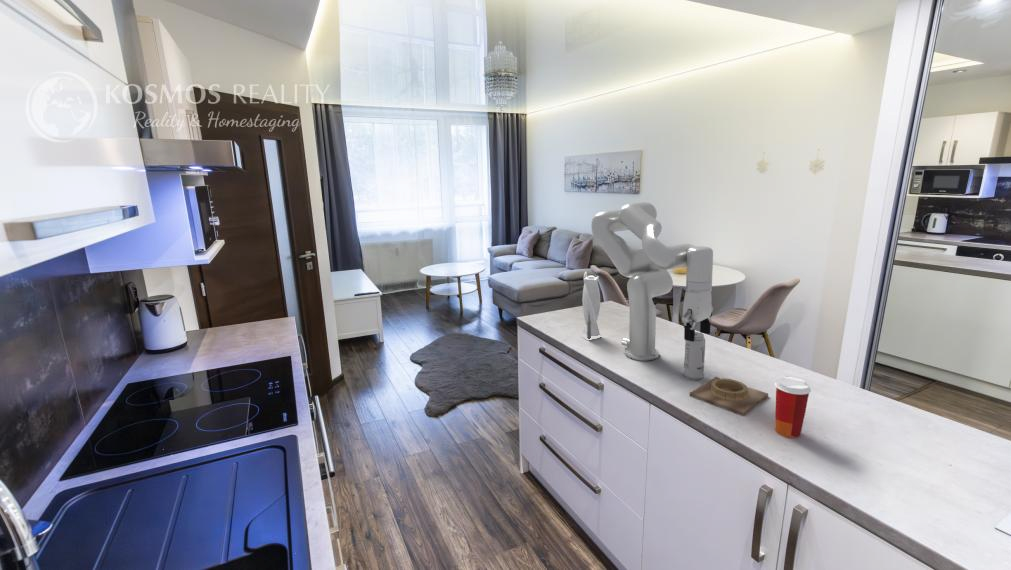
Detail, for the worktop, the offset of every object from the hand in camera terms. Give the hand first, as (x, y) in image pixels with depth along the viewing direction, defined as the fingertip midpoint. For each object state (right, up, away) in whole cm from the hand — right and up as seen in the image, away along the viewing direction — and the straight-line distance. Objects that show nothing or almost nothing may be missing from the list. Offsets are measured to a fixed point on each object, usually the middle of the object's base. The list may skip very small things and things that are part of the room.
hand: (697, 336), depth 144 cm
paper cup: (+11, -21, -29) cm, 38 cm away
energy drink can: (0, -14, +4) cm, 15 cm away
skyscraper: (-26, -5, +46) cm, 53 cm away
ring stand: (+5, -17, -10) cm, 20 cm away
